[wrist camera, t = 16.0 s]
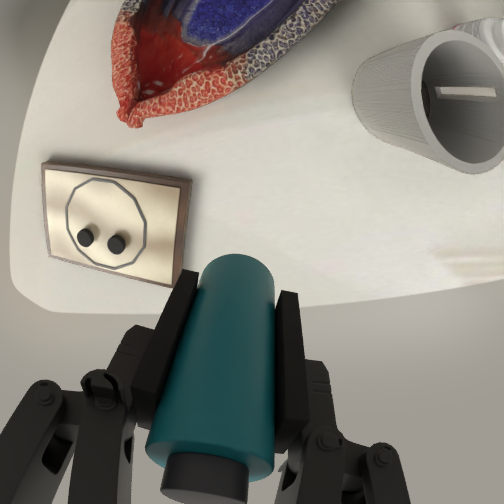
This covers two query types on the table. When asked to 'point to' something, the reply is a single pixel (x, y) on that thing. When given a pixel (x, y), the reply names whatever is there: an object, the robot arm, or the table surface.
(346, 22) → the table surface
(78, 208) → the sketch board
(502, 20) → the pill bottle
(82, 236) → the eye
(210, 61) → the dish
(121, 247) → the eye
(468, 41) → the cup
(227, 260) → the dot marker
